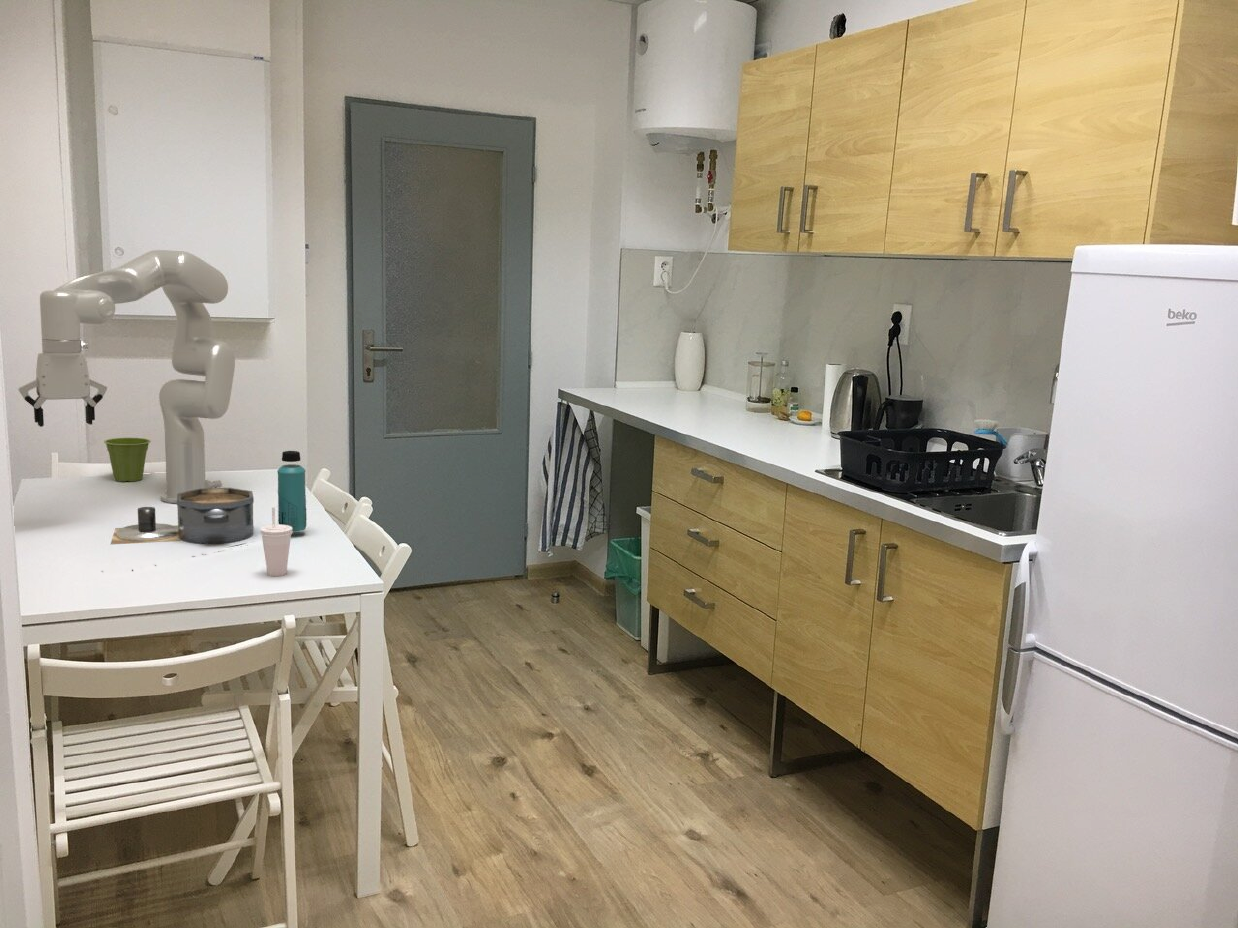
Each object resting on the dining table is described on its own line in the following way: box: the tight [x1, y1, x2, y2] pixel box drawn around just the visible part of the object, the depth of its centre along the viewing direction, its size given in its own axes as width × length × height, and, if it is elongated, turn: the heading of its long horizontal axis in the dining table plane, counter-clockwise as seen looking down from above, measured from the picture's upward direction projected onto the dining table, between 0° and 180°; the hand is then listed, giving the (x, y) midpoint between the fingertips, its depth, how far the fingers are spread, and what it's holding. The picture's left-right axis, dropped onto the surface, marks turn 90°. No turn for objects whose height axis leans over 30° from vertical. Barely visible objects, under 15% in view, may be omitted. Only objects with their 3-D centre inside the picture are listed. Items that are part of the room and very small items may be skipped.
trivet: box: [110, 525, 182, 545], centre depth 230 cm, size 14×14×1 cm
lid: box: [117, 506, 177, 542], centre depth 230 cm, size 12×12×6 cm
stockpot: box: [176, 487, 255, 548], centre depth 232 cm, size 21×16×10 cm
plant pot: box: [103, 437, 151, 483], centre depth 287 cm, size 12×12×11 cm
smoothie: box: [259, 506, 294, 577], centre depth 209 cm, size 6×6×14 cm
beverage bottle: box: [277, 450, 308, 533], centre depth 238 cm, size 6×7×20 cm
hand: (65, 424), depth 226 cm, fingers open, 9 cm apart
